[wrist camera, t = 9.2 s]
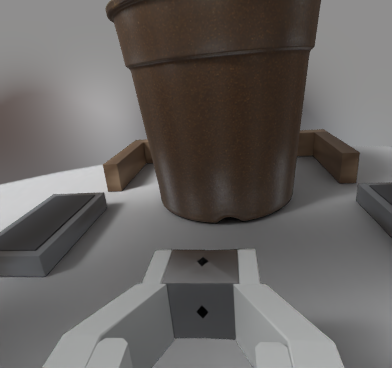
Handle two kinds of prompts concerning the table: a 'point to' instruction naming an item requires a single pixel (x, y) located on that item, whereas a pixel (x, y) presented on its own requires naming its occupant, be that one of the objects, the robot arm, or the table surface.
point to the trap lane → (121, 176)
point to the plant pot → (219, 98)
